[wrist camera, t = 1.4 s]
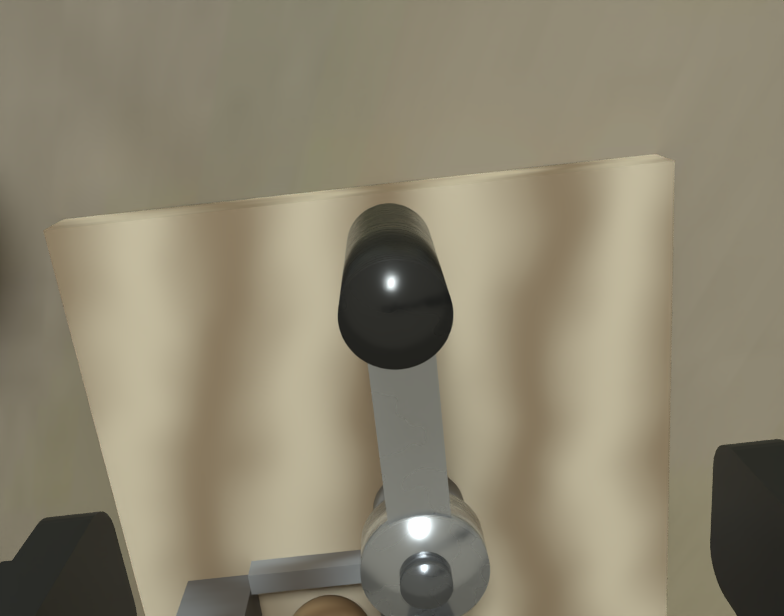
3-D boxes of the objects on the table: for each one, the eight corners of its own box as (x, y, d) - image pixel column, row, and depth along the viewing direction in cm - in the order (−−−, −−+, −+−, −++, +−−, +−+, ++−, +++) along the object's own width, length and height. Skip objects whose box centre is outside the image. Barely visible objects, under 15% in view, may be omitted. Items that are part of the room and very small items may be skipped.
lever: (452, 181, 27) (495, 249, 18) (489, 644, 34) (533, 867, 24) (314, 196, 27) (284, 272, 18) (378, 655, 34) (381, 882, 24)
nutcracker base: (655, 154, 30) (735, 182, 23) (651, 615, 37) (711, 736, 31) (63, 219, 30) (-23, 266, 24) (177, 664, 38) (135, 795, 31)
